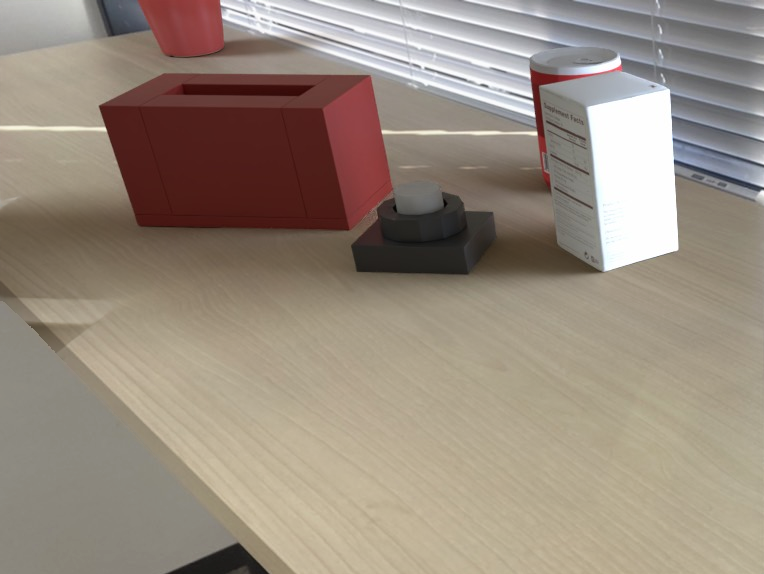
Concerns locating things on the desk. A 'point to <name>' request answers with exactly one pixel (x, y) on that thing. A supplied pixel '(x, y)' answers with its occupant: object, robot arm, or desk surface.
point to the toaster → (250, 150)
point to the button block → (425, 240)
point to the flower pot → (185, 26)
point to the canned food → (565, 79)
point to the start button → (418, 198)
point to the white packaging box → (611, 168)
